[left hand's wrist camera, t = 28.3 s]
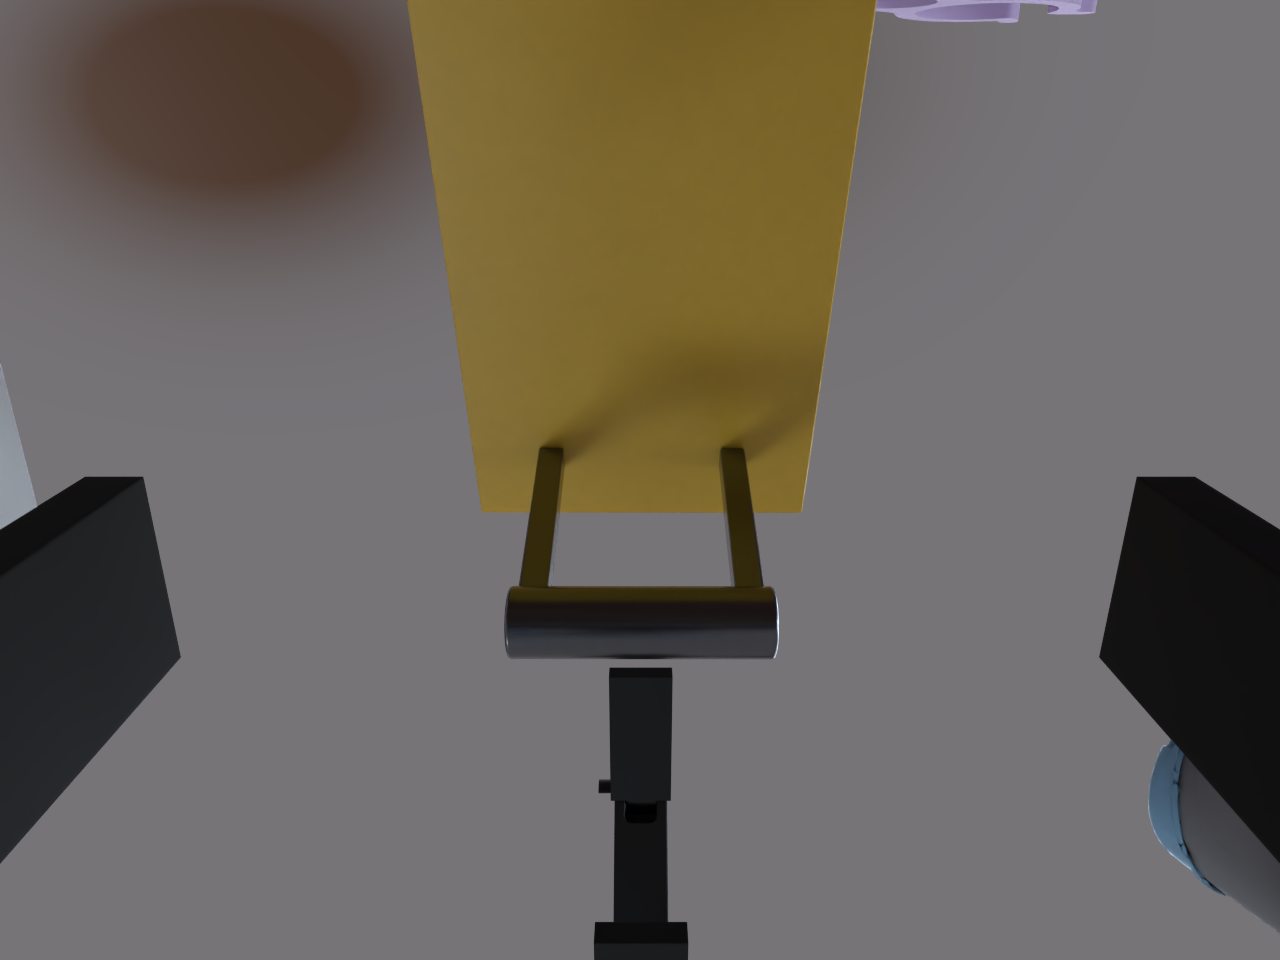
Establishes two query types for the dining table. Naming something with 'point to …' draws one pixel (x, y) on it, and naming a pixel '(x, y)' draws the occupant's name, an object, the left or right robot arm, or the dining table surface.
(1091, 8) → the clip
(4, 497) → the electronic device
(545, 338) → the lid
